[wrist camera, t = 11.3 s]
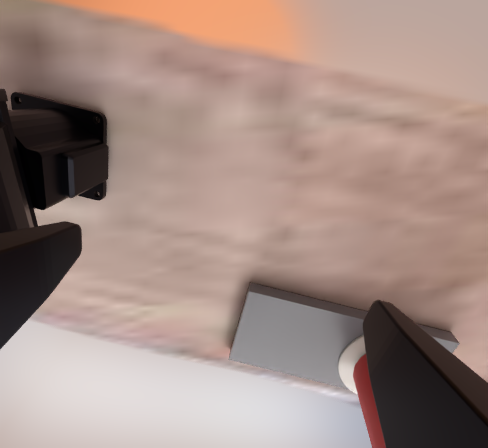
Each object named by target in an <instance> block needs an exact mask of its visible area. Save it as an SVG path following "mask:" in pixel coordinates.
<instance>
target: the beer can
mask: <svg viewBox="0 0 488 448" xmlns="http://www.w3.org/2000/svg"><path fill="white" fill-rule="evenodd" d="M353 378H354V382H355V386H356V389H357V393H358V397H359V401H360V404H361V408H362V412H363V415H364V419H365V422H366V426H367V430H368V433H369V437H370V441H371V444H372V448H386V446H385V442H384V438H383V433H382V429H381V425H380V421H379V417H378V412H377V408H376V404H375V400H374V396H373V391H372V387H371V383H370V378H369V372H368V366H367V358H366V353H365V354H364V355H363V356H361V357H360V359H359V360H358V362H357V363H356V364H355V367H354V371H353Z"/></svg>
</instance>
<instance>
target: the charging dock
mask: <svg viewBox="0 0 488 448" xmlns="http://www.w3.org/2000/svg"><path fill="white" fill-rule="evenodd" d="M367 313H368V312H367V311H363V310H359V309H355V308H351V307H347V306H343V305H339V304H335V303H331V302H327V301H323V300H319V299H315V298H311V297H307V296H303V295H299V294H295V293H291V292H287V291H283V290H279V289H275V288H271V287H267V286H263V285H259V284H255V283H251V282H250V285H249V288H248V292H247V295H246V298H245V302H244V305H243V309H242V312H241V316H240V319H239V322H238V326H237V329H236V333H235V336H234V339H233V343H232V346H231V350H230V356H229V360H232V361H236V362H240V363H244V364H248V365H252V366H256V367H260V368H264V369H268V370H272V371H276V372H280V373H284V374H288V375H292V376H296V377H300V378H304V379H308V380H313V381H317V382H321V383H325V384H329V385H333V386H337V387H341V388H345V389H349V390H351V391H352V392H354V393H355V394H357V395H358V393H357V389H356V386H355V382H354V378H353V371H354V367H355V364H356V363H357V362H358V360H359V359H360V357H361V356H363V355H364V354H365V353H366V350H365V342H364V334H363V321H364V318H365V316H366V315H367ZM417 325H418V326H419V327H421V328H422V329H423V330H424V331H425V332H427V333H428V334H429V335H430V336H431V337H433V338H434V339H435V340H436V341H437V342H439V343H440V344H441V345H442V346H444V347H445V348H446V349H447V350H448V351H450V352H451V353H453V351H454V350H455V349H456V348H457V346H458V345H459V344H460V343H459V342H458V341H457V339H456V338H455V337H454V335H453V334H452V333H451V332H447V331H443V330H439V329H435V328H431V327H427V326H423V325H419V324H417Z"/></svg>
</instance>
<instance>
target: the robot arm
mask: <svg viewBox="0 0 488 448" xmlns="http://www.w3.org/2000/svg"><path fill="white" fill-rule="evenodd" d="M19 98H20V99H21V101H22V102H20V101H19ZM6 101H8V99H7V95H6V91H5V89H0V349H1V348H2V347H3V346H4V345H5V344H6V343H7V342H8V340H9V339H10V338H11V337H12V336H13V335H14V334H15V333H16V332H17V331H18V330H19V329H20V328H21V326H22V325H23V324H24V323H25V322H26V321H27V320H28V319H29V318H30V317H31V316H32V315H33V313H34V312H35V311H36V310H37V309H38V308H39V307H40V306H41V305H42V304H43V303H44V301H45V300H46V299H47V298H48V297H49V296H50V294H51V293H52V292H53V291H54V289H55V288H56V287H57V285H58V284H59V283H60V281H61V280H62V279H63V277H64V276H65V275H66V273H67V272H68V271H69V269H70V268H71V267H72V265H73V264H74V263H75V261H76V260H77V259H78V257H79V256H80V254H81V251H82V235H81V227H80V226H79V225H78V224H74V223H70V222H59V223H53V224H48V225H42V226H38V224H37V220H36V216H35V213H34V209H35V208H37V209H41V210H45V209H47V208H49V207H51V206H53V205H55V204H57V203H59V202H61V201H63V200H64V199H66V198H68V197H69V198H74V197H75V196H77V195H78V196H82V197H86V198H90V199H94V200H101V199H103V198H104V197H105V196H106V180H107V179H108V146H107V144H106V143H107V120H106V117H105V115H104V114H103V113H101V112H97V111H93V110H89V109H85V108H81V107H77V106H73V105H69V104H66V103H62V102H58V101H54V100H50V99H46V98H42V97H38V96H34V95H30V94H26V93H21V92H14V93H12V95H11V104H12V110H8V108H7V104H6ZM96 117H99V119H100V123H98V122H97V120H96ZM97 191H98V192H99V193H100V196H99V195H98V194H97ZM363 334H364V342H365V350H366V358H367V366H368V372H369V378H370V383H371V387H372V391H373V396H374V400H375V404H376V408H377V412H378V417H379V421H380V425H381V429H382V433H383V438H384V442H385V446H386V448H488V383H487V382H486V381H485V380H484V379H482V378H481V377H480V376H479V375H478V374H476V373H475V372H474V371H473V370H471V369H470V368H469V367H468V366H467V365H465V364H464V363H463V362H462V361H461V360H459V359H458V358H457V357H456V356H454V355H453V354H452V353H451V352H450V351H448V350H447V349H446V348H445V347H444V346H442V345H441V344H440V343H439V342H437V341H436V340H435V339H434V338H433V337H431V336H430V335H429V334H428V333H427V332H425V331H424V330H423V329H422V328H421V327H419V326H418V325H417V324H416V323H414V322H413V321H412V320H411V319H410V318H408V317H407V316H406V315H405V314H404V313H402V312H401V311H400V310H399V309H397V308H396V307H395V306H394V305H393V304H391V303H389V302H385V301H381V300H376V301H374V302H373V304H372V306H371V308H370V309H369V311H368V313H367V315H366V316H365V318H364V321H363Z"/></svg>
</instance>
